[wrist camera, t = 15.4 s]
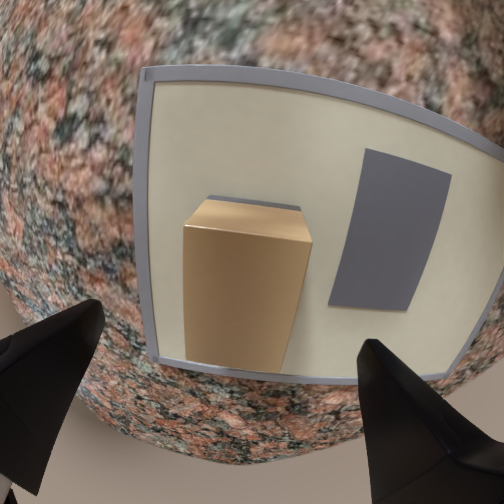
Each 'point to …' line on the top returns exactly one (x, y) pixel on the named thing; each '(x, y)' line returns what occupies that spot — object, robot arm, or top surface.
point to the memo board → (323, 212)
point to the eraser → (242, 281)
